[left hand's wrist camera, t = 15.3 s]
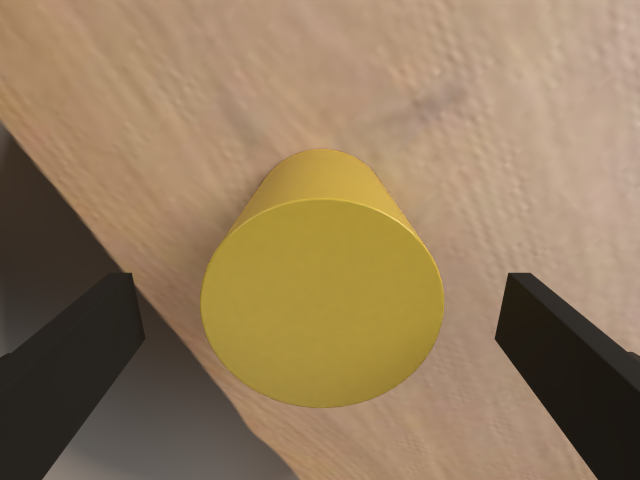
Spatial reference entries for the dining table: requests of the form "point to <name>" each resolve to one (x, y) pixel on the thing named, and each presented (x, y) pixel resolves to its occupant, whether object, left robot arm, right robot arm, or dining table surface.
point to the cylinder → (321, 287)
